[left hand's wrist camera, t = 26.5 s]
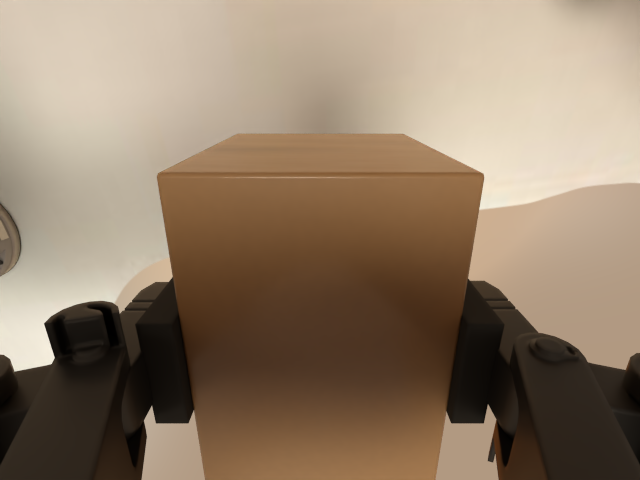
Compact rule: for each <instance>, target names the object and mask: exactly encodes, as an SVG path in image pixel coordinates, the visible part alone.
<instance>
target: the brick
mask: <svg viewBox="0 0 640 480" xmlns="http://www.w3.org/2000/svg"><path fill="white" fill-rule="evenodd" d="M157 180H158V186H159V193H160V199H161V205H162V211H163V218H164V224H165V230H166V237H167V243H168V249H169V255H170V262H171V268H172V274H173V281H174V287H175V293H176V299H177V306H178V312H179V318H180V324H181V331H182V337H183V343H184V350H185V356H186V362H187V368H188V375H189V381H190V387H191V393H192V400H193V406H194V412H195V419H196V425H197V431H198V437H199V444H200V450H201V456H202V463H203V469H204V475H205V480H435V478H436V472H437V466H438V460H439V453H440V447H441V441H442V435H443V429H444V423H445V416H446V410H447V404H448V398H449V392H450V386H451V379H452V373H453V367H454V361H455V355H456V349H457V342H458V336H459V330H460V324H461V318H462V311H463V305H464V299H465V293H466V287H467V281H468V274H469V268H470V262H471V256H472V250H473V243H474V237H475V231H476V225H477V219H478V213H479V207H480V200H481V194H482V188H483V182H484V175H483V173H481V172H479V171H477V170H475V169H473V168H471V167H469V166H467V165H465V164H463V163H461V162H459V161H457V160H455V159H453V158H451V157H449V156H447V155H445V154H442V153H440V152H438V151H436V150H434V149H432V148H430V147H428V146H426V145H424V144H422V143H420V142H418V141H416V140H414V139H412V138H410V137H408V136H406V135H404V134H236V135H234V136H232V137H230V138H228V139H226V140H224V141H222V142H220V143H218V144H216V145H214V146H212V147H210V148H208V149H206V150H204V151H202V152H200V153H198V154H196V155H194V156H192V157H190V158H188V159H186V160H184V161H182V162H180V163H178V164H176V165H174V166H172V167H170V168H168V169H166V170H164V171H162V172H160V173H158V175H157Z"/></svg>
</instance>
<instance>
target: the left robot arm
mask: <svg viewBox="0 0 640 480" xmlns="http://www.w3.org/2000/svg"><path fill="white" fill-rule="evenodd" d="M19 254H20V238H19V234H18V231H17V228H16V226H15V224H14V222H13V220H12V219H11V217H10V215H9V214H8V213H7V211H6V210H5V209H4V208H3V207H2V206H1V205H0V276H2V275H3V274H5V273H7V272H8V271H9V270H11V269H12V268H13V266H14V265H15V264H16V262H17V260H18V257H19ZM44 325H45V328H46V331H47V334H48V337H49V341H50V344H51V347H52V350H53V353H54V356H55V359H54V361H53V363H52V364H51V365H47V366H42V367H37V368H32V369H26V370H21V371H16V372H14V369H13V366H12V364H11V361H10V359H9V358H7V357H6V356H4V355H0V480H141V478H142V471H143V462H144V455H145V446H146V439H147V435H146V429H145V424H144V419H145V417H146V415H147V413H148V411H149V410H150V408H151V406H152V407H153V411H154V416H155V421H156V423H189V420H190V418H191V415H192V413H193V410H194V406H193V400H192V393H191V387H190V381H189V375H188V368H187V362H186V356H185V350H184V343H183V337H182V331H181V324H180V318H179V312H178V306H177V299H176V293H175V287H174V281H173V278H172V279H171V280H170V281H169V282H155V283H153V284H152V285H150V286H148V287H146V288H145V289H143V290H141V291H140V292H139V293H138V295H137V296H136V297H135V298H134V299H133V300H132V302H131V303H129V305H128V306H127V307H126V308H125V311H122V312H121V313H120V314H119V309H118V306H116V305H115V304H113V303H111V302H105V301H94V302H86V303H82V304H77V305H74V306H71V307H69V308H66V309H63V310H61V311H60V312H58V313H56V314H55V315H53V316H51V317H50V318H49V319H48V320H47V321H46V322H45V323H44ZM488 404H489V406H490V408H491V410H492V412H493V414H494V416H495V417H496V419H497V420H496V424H495V429H494V433H493V438H492V442H491V446H490V451H489V456H488V461H490V462H493V460H494V456H495V454H496V461H497V470H498V477H499V480H640V353H636V354H635V355H633V356H632V357H630V360H629V363H628V365H627V368H626V370H622V369H617V368H612V367H607V366H602V365H597V364H592V363H588V362H587V360H586V358H585V357H584V356H583V354H582V353H581V352H580V351H579V350H578V349H577V348H576V347H574V346H573V345H571V344H570V343H568V342H566V341H564V340H562V339H559V338H557V337H555V336H551V335H547V334H543V333H538V332H537V331H536V329H535V328H534V327H533V326H532V325H531V324H530V323H529V322H528V321H527V320H526V318H525V317H524V316H523V315H522V314H521V313H520V312H519V311H518V310H517V309H515V306H514V305H513V304H512V303H511V302H510V301H508V299H507V298H506V297H505V296H504V294H503V293H502V292H501V291H500V290H499V289H497V288H496V287H494V286H492V285H491V284H489V283H487V282H485V281H470V280H469V279H468V281H467V287H466V293H465V299H464V305H463V311H462V318H461V324H460V330H459V336H458V342H457V349H456V355H455V361H454V367H453V373H452V379H451V386H450V392H449V398H448V404H447V410H446V411H447V413H448V416H449V419H450V421H451V423H484V420H485V415H486V410H487V405H488Z"/></svg>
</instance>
